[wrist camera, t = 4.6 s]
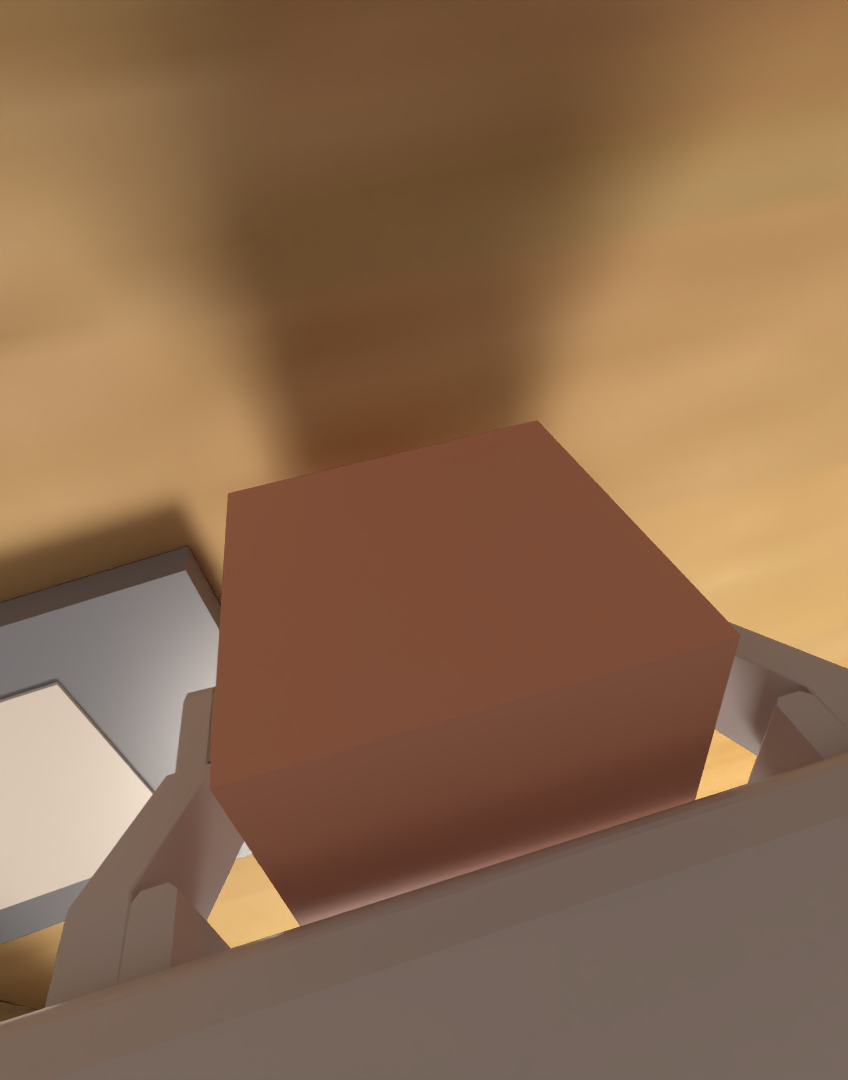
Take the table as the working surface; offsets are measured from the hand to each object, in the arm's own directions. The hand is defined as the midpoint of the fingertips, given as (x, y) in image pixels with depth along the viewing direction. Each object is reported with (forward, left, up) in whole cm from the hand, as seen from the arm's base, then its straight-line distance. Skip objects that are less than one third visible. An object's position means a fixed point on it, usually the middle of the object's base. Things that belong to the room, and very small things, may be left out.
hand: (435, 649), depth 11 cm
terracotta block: (0, 0, -2) cm, 2 cm away
